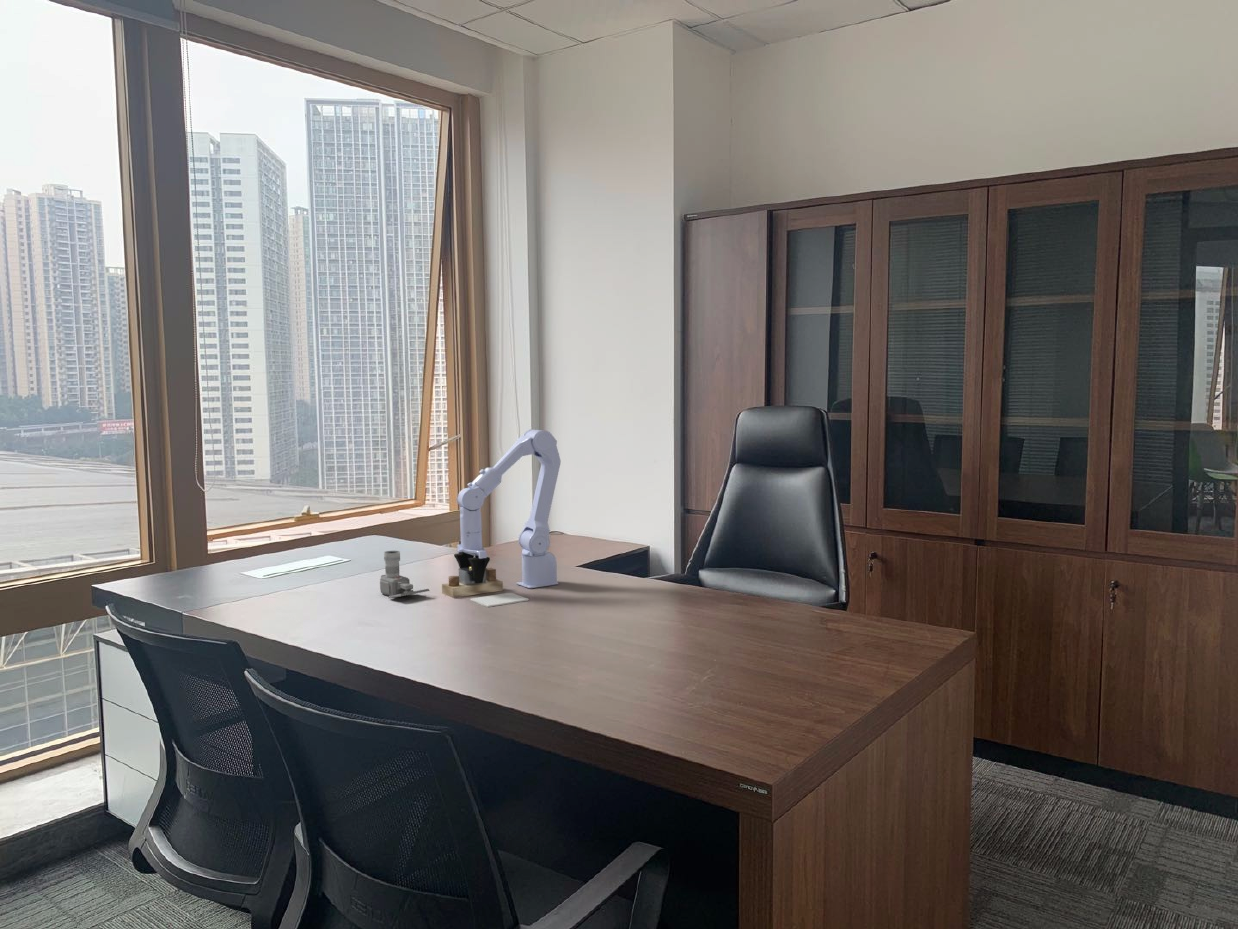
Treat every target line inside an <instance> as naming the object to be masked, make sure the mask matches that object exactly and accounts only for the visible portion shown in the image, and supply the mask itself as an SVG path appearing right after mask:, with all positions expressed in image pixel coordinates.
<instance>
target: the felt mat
mask: <svg viewBox="0 0 1238 929" xmlns="http://www.w3.org/2000/svg"><path fill="white" fill-rule="evenodd" d="M470 601H471V602H474V603H476V604H478V605H481V606H483V607H486V608H490V607H497V606H503V605H509V604H516V603H522V602H528V601H529V598H527V597H525V596H521V595H519V594H516V593H514V592H505V593H500V594H493V595H486V596H480V597H479V596H478V597H473V598H470Z"/></svg>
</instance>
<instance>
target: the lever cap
mask: <svg viewBox="0 0 1238 929" xmlns="http://www.w3.org/2000/svg"><path fill="white" fill-rule="evenodd" d="M458 576H459V583H461V584H463V585H466V586H467V585H474V584H476V583H475V582H474V578H473V571H472V567H467V568H460V567H459V568H458ZM482 583H486V570H485V573H484V578H483V582H482ZM477 584H481V583H477Z"/></svg>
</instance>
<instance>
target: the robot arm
mask: <svg viewBox="0 0 1238 929" xmlns="http://www.w3.org/2000/svg"><path fill="white" fill-rule="evenodd" d="M557 444H558V440H557V439H556V438H555V436H553V434H552V433H551V432H550V431H548V430H545V429H543V430H539V429H536V428H535V429H534V428H532V429H531V428H530V429H528V430H527V431H525V432H524V433H523V435H520V436H519V437H518V438H517V440H516V441H515V442H514V443H513V444H512V446H511V447H510V448H509V449H508V450H507V451H506V452H505V453H504V455H503V456H502V457H501V458H500V459H499V460H498V461H497V462H496V463H495V465H494V466H493V467H485V468H484V469H483V468H482V469H480V470H479V472H478V473H479V475H478V476H476V478H474V479H473V481H472V482H469V483H467V487H466V488H465V487H464V488H462V489H461V490H460V491H459V493H458V496H457V497H456V501H457V502H456V503H457V504H458V506H459V508H460V509H459V512H460V513H459V525H460V526H459V527H460V529H459V530H460V543H459V544H456V550H457V552H458V553H453V556H454V558H455V560H456V562H457V564H458V566H459V568H467V567H472V571H473V578H474V582H475V583H476V584H477V583H482V582H483V578H484V573H485V570H486V568H488V564H489V563H490V560H491V558H490V557H489V556H488V553H487V550H485V549H484V546H483V537H482V531H483V530H482V513H481V512H482V509H481V508H482V507H483V506H484V502H485V499H486V498H487V497H488V496H489V495H490V494H491V493H492V492H494V490H495V489H496V488H498V486H499V485H500V484H501V483H502V476H503V475H504V474H505V473H506V472H507V471H509V469H510V468H511V467H512V466H514V465H515V464H516V463H517V462H518V461H519V460H520V459H521V458H522V457H526V456H530V455H534V457H535V458H536V459H537V460H538V462H539V463H540V469H539V473H538V477H537V480H536V481H537V482H536V487H535V492H534V496H533V501H532V504H531V510H530V514H529V518H528V519H527V521H526V522H525V523H524V527H523V529H522V531H521V532H520V534H519V537H518V545H519V546H520V547H521V549H522V550H521V575H522V576H521V579H522V581H517V582H516V585H519V586H521V587H525V588H527V589H533V588H535V589H536V588H541V587H547V586H548V587H549V586H553V585H559V581H558V572H557V570H558V569H557V559H556V555H555V554H554V553H553V552H552V551H551V552H550V551H549V552H548V550H549V548H550V546H551V540H550V526H549V523H548V521H549V516H550V512H551V507H552V503H553V499H554V494H555V490H556V485H557V481H558V477H559V471H560V466H561V462H562V461H561V457H560V456H561V455H560V452H559V449H558V446H557Z"/></svg>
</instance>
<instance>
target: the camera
mask: <svg viewBox="0 0 1238 929" xmlns="http://www.w3.org/2000/svg"><path fill="white" fill-rule="evenodd" d="M383 561H384V563H385V564H384V567H385V574H382V575H380V579H379V580H380V581H379V586H380V587H379V590H380V593H381V594H382V595H384V596H388V597H387V598H388V599H395V598H400V597H406V595H407V596H411V595H416V594H422V593H426V592H430V588H424V589H420V590H415V591H414V585H413V583H412V584H411V583H410V578H408V577H406V576H403V575H401V574H400V561H401V551H399V550H387V551H384V552H383Z"/></svg>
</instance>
